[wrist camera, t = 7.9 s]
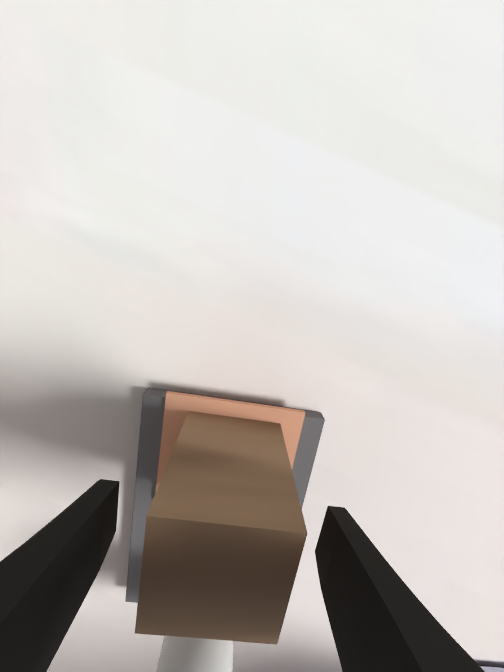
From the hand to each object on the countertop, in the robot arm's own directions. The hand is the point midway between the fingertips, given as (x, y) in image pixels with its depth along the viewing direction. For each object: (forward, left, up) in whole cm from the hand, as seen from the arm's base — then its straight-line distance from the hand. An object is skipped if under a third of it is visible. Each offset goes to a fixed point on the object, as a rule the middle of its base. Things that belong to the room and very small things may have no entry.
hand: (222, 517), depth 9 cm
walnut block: (0, 0, -3) cm, 3 cm away
